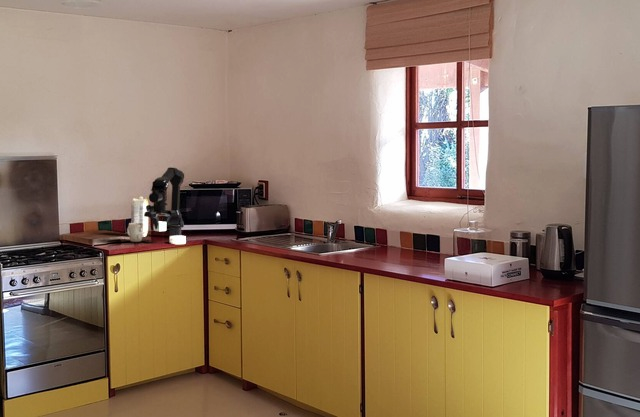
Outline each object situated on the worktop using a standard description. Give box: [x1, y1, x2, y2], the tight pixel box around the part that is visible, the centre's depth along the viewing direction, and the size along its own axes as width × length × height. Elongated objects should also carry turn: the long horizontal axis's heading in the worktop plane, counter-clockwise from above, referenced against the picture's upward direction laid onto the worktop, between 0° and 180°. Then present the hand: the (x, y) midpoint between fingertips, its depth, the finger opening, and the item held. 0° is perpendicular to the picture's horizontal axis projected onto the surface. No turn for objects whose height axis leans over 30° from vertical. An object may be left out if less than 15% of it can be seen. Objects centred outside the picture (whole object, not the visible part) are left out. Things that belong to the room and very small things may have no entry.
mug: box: [126, 222, 144, 243], centre depth 430 cm, size 8×13×10 cm, turn 53°
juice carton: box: [130, 195, 149, 238], centre depth 446 cm, size 9×8×24 cm
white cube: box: [153, 220, 167, 232], centre depth 425 cm, size 5×5×5 cm
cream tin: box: [169, 234, 187, 245], centre depth 428 cm, size 9×9×4 cm
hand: (159, 228), depth 425 cm, fingers closed on white cube, 5 cm apart
